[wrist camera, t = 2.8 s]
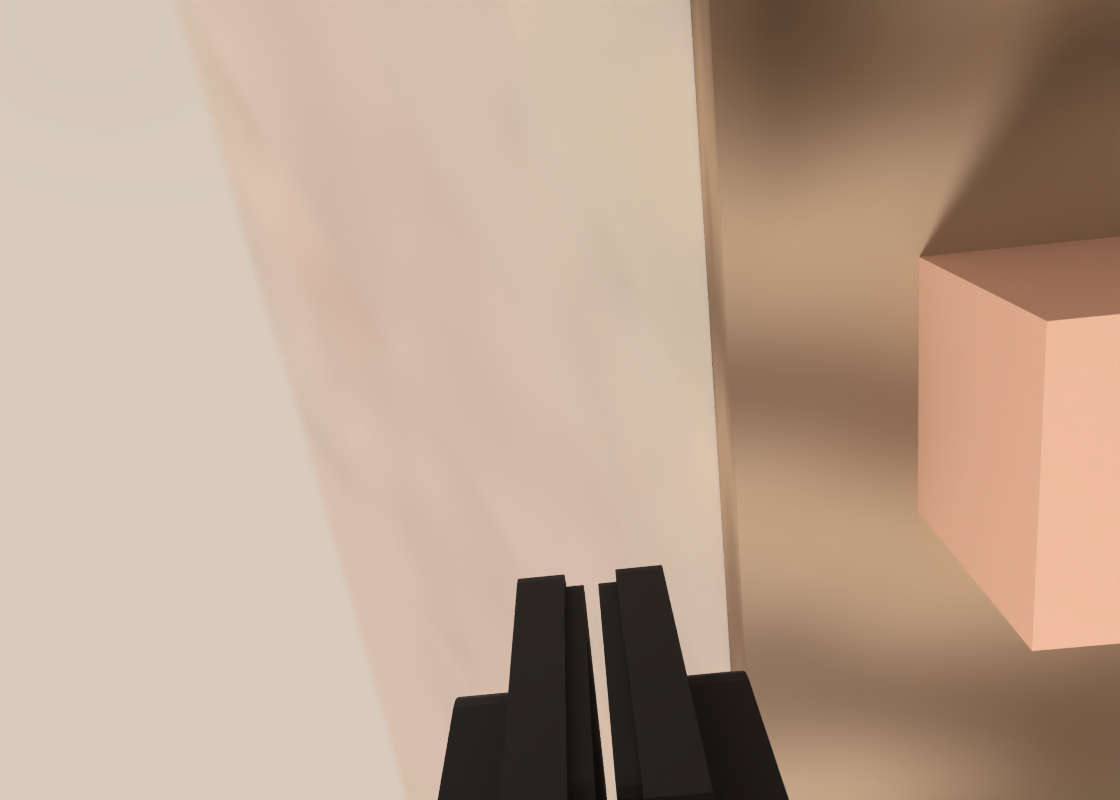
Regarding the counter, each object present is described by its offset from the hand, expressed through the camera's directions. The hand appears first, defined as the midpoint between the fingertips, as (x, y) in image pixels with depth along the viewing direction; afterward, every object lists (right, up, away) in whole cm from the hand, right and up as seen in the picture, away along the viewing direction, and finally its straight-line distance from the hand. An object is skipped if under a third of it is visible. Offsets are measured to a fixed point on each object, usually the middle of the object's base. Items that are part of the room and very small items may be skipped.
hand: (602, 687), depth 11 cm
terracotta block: (+9, +4, +7) cm, 12 cm away
